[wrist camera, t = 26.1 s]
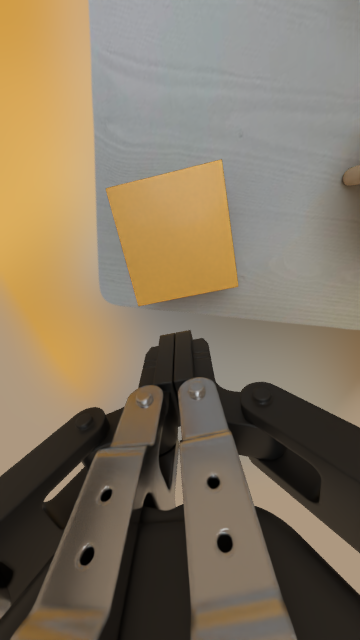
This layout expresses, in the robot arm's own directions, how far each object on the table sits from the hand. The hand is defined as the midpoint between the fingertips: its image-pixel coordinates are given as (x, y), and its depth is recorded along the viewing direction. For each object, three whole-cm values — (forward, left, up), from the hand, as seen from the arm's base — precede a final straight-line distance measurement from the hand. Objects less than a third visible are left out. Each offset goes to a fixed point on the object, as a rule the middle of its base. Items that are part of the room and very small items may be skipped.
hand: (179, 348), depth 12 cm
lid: (-2, 0, -19) cm, 19 cm away
